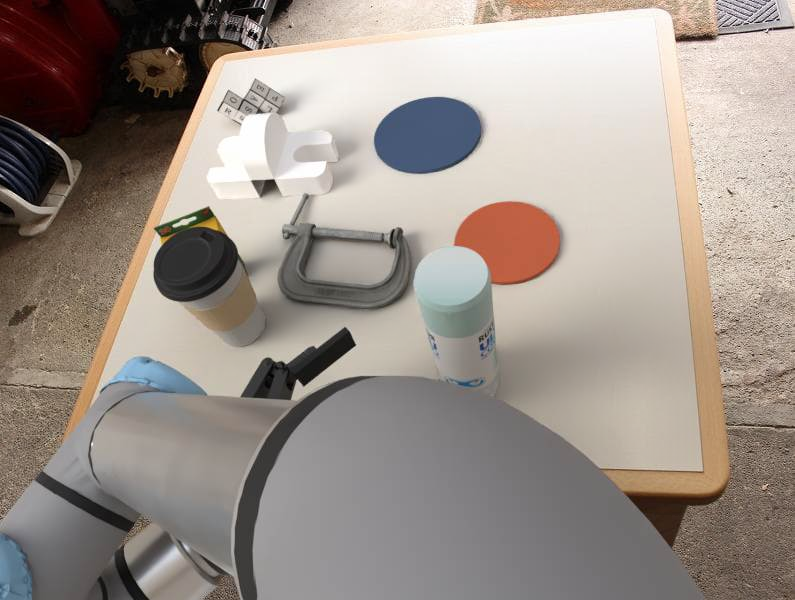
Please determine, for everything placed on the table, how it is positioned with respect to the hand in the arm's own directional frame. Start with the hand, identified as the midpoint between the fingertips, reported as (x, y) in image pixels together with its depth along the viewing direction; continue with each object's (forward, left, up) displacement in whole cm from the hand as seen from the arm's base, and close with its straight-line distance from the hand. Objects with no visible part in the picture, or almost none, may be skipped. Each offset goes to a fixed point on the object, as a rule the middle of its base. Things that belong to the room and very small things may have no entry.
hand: (394, 380), depth 56 cm
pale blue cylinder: (+1, -8, -12) cm, 14 cm away
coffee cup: (+23, +12, -12) cm, 29 cm away
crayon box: (+32, +12, -12) cm, 37 cm away
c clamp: (+26, -4, -12) cm, 29 cm away
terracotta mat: (+15, -22, -11) cm, 29 cm away
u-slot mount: (+47, -2, -12) cm, 48 cm away
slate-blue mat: (+39, -24, -11) cm, 48 cm away
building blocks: (+61, -4, -12) cm, 63 cm away
